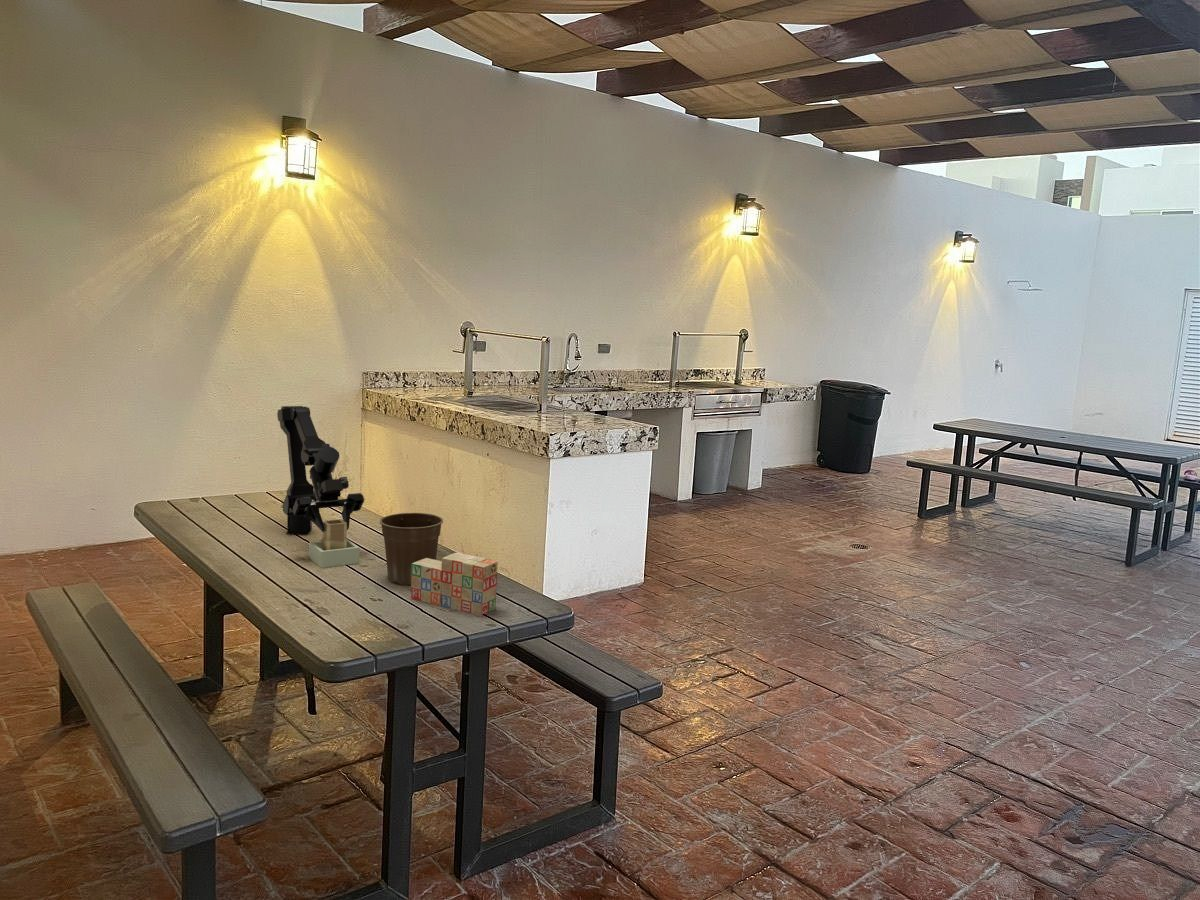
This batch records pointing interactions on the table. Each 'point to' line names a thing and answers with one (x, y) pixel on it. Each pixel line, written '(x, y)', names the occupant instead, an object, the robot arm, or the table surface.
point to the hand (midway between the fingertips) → (335, 530)
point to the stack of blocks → (456, 582)
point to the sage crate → (333, 555)
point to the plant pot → (409, 542)
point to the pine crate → (334, 535)
